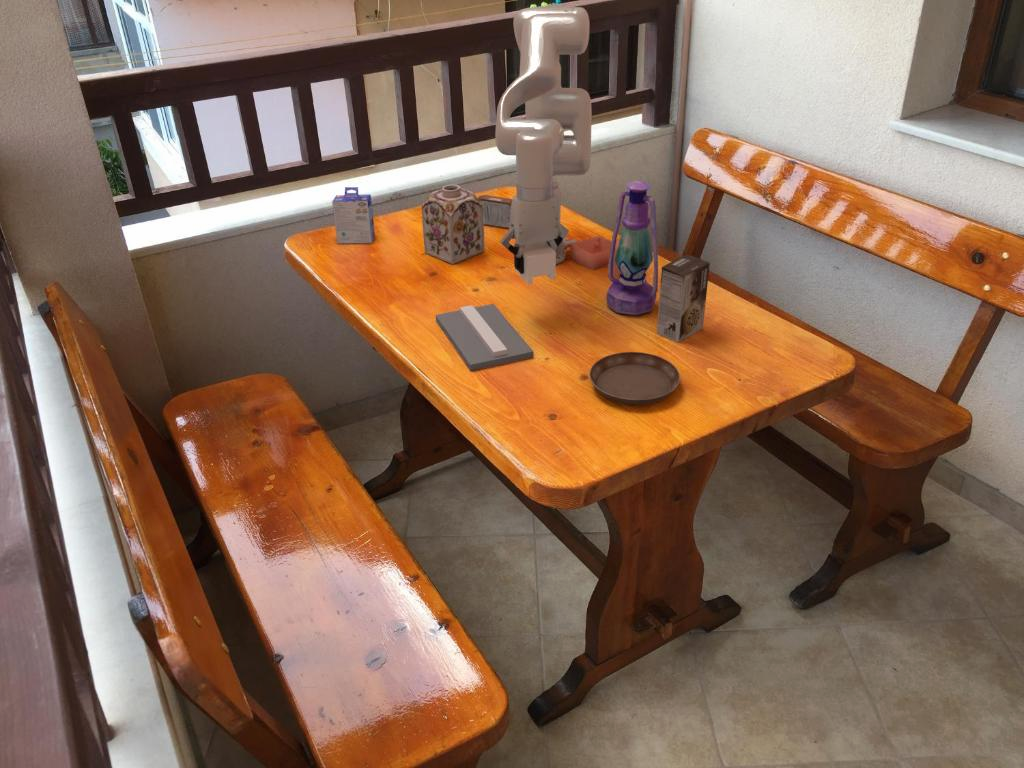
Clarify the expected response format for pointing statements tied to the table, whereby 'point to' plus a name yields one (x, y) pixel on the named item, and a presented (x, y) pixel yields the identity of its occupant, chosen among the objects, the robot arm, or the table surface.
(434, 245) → the decorative jar
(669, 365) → the plant saucer
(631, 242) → the lantern
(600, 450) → the table surface
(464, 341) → the rail board
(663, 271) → the coffee box
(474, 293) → the table surface
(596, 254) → the pottery
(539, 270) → the block
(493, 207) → the tin
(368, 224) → the ink cartridge box
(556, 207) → the robot arm
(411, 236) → the table surface
